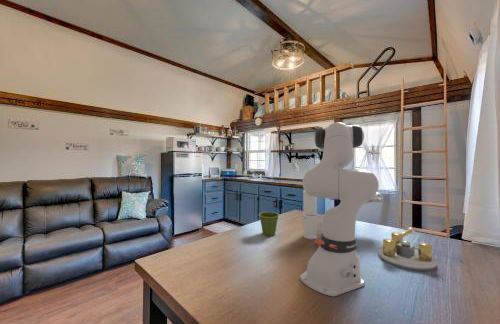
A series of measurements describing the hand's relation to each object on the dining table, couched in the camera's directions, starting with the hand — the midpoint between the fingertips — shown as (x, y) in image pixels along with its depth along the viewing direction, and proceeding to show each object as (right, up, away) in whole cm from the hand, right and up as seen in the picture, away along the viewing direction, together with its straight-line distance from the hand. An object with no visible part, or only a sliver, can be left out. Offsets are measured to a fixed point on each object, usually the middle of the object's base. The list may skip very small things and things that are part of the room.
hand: (381, 200), depth 120 cm
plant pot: (-60, -21, +7) cm, 64 cm away
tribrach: (-5, -20, -25) cm, 33 cm away
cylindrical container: (-38, -20, +3) cm, 43 cm away
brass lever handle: (+2, -18, -13) cm, 23 cm away
